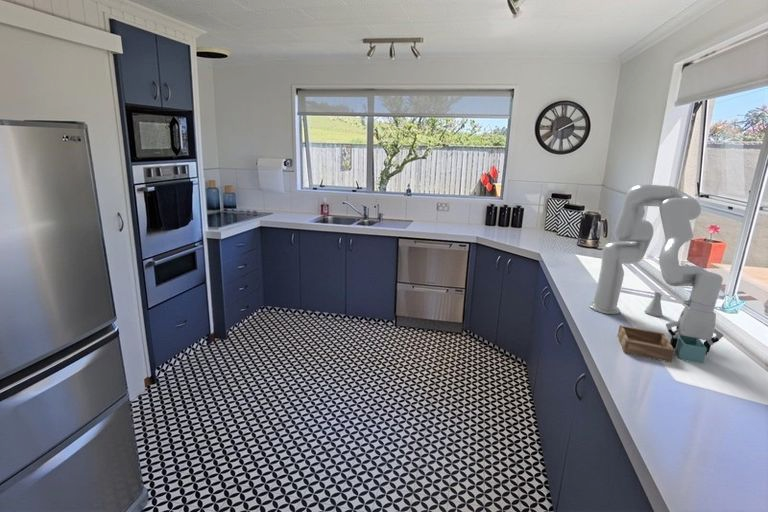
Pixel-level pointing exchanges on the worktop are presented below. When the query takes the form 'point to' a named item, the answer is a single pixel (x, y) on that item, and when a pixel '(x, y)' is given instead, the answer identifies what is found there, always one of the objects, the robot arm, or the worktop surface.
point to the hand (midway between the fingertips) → (688, 350)
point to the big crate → (645, 343)
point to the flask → (655, 305)
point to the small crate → (690, 349)
